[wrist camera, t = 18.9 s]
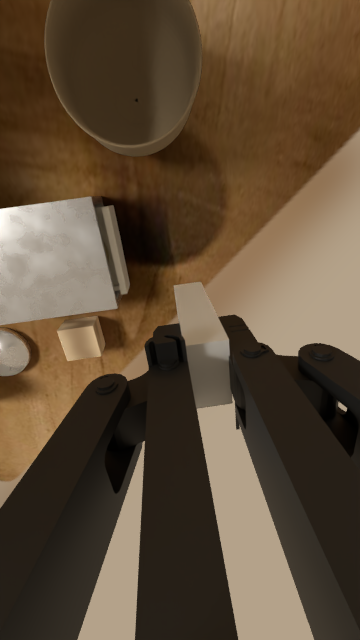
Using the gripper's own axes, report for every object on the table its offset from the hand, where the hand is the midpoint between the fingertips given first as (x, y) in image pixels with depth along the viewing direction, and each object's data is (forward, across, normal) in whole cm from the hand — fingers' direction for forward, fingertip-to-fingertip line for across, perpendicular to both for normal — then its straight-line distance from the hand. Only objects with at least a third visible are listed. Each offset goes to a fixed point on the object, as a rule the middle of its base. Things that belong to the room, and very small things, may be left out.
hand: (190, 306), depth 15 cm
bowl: (+25, -2, +16) cm, 29 cm away
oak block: (+24, -15, -12) cm, 31 cm away
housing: (+24, -16, 0) cm, 29 cm away
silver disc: (+25, -28, -13) cm, 40 cm away
